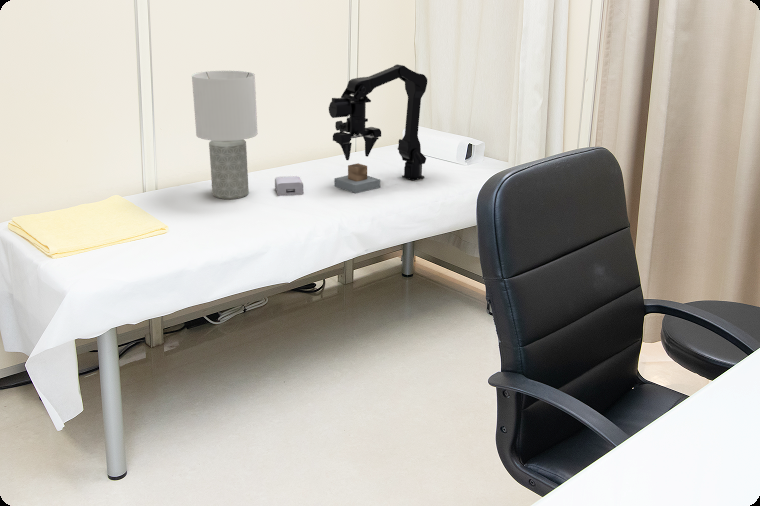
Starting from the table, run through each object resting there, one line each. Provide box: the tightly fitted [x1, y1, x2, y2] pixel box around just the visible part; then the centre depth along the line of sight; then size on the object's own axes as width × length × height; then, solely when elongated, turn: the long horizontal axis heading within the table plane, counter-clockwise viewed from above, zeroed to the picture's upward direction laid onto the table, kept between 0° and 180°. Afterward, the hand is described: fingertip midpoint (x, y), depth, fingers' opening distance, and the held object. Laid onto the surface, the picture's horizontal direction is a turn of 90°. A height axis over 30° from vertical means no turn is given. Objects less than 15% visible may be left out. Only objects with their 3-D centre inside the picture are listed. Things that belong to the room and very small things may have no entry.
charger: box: [274, 175, 304, 197], centre depth 268 cm, size 5×9×15 cm
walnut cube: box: [347, 162, 368, 181], centre depth 272 cm, size 5×5×5 cm
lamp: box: [191, 70, 258, 200], centre depth 255 cm, size 21×21×42 cm
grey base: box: [333, 174, 381, 194], centre depth 273 cm, size 12×12×3 cm
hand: (357, 158), depth 270 cm, fingers open, 9 cm apart
